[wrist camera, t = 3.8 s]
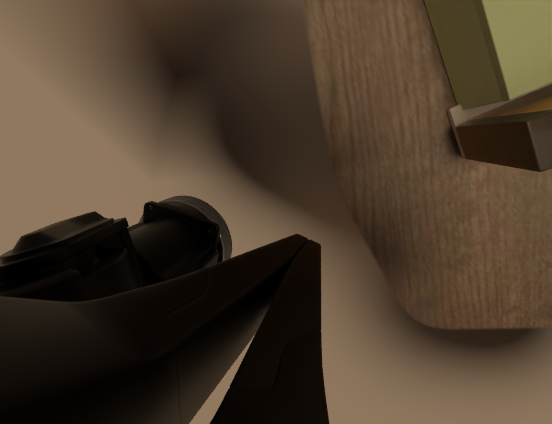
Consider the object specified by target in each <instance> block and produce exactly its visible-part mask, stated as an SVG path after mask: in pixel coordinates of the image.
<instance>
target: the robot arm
mask: <svg viewBox="0 0 552 424" xmlns="http://www.w3.org/2000/svg"><path fill="white" fill-rule="evenodd" d="M150 206H151V207H152V209H151V208H150ZM128 226H129V225H128V222H127V220H126V218H121V219H116V220H114V219H113V218H110V219H107V218H104V217H103V216H101V215H100V214H98V213H97V212H91V213H86V214H83V215H80V216H76V217H73V218H70V219H67V220H64V221H60V222H57V223H54V224H52V225H49V226H47V227H44V228H42V229H39V230H36V231H34V232H31V233H29V234H26V235H24V236H21V238H20V239H19V241H18V242H17V244H16V245H15V247H14V248H13V249H12V250H10V251H8V252H6V253H5V254H3V255H1V256H0V424H189V423H190V422H191V420H192V419H193V417H194V416H195V415H196V413H197V412H198V410H199V409H200V408H201V406H202V405H203V404H204V403H205V401H206V400H207V398H208V397H209V396H210V394H211V393H212V392H213V390H214V389H215V388H216V386H217V385H218V384H219V382H220V381H221V379H222V378H223V377H224V375H225V374H226V373H227V371H228V370H229V369H230V367H231V366H232V365H233V363H234V362H235V360H236V359H237V358H238V356H239V355H240V354H241V352H242V351H243V350H244V348H245V347H246V346H247V344H248V343H249V341H250V340H251V339H252V337H253V336H254V335H255V336H254V338H253V340H252V343H251V344H250V346H249V348H248V350H247V352H246V354H245V356H244V359H243V361H242V363H241V365H240V367H239V369H238V371H237V373H236V375H235V377H234V379H233V381H232V383H231V385H230V388H229V389H228V391H227V393H226V395H225V397H224V399H223V401H222V403H221V405H220V407H219V408H218V410H217V412H216V414H215V416H214V418H213V419H212V421H211V422H210V424H329V419H328V411H327V404H326V396H325V388H324V379H323V369H322V348H321V245H320V244H319V243H317V242H314V241H312V240H308V239H307V238H306V237H304V236H301V235H299V234H295V235H292V236H289V237H287V238H284V239H281V240H279V241H276V242H273V243H270V244H268V245H265V246H262V247H260V248H257V249H254V250H252V251H249V252H246V253H244V254H241V255H238V256H236V257H233V258H230V259H227V260H225V261H222V262H219V263H217V260H218V255H219V252H218V250H217V244H218V239H219V234H220V226H219V225H218V224H217V223H216V222H213V221H210V220H207V219H204V218H201V217H198V216H195V215H192V214H189V213H186V212H183V211H180V210H177V209H174V208H171V207H168V206H165V205H162V204H159V203H156V202H153V201H150V202H147V203H145V205H144V212H143V221H142V222H140V223H138V224H136V225H133V226H131V227H128ZM127 227H128V228H127ZM211 227H214V228H215V231H213V230H212V228H211ZM255 333H256V334H255Z"/></svg>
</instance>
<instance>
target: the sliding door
mask: <svg viewBox="0 0 552 424" xmlns="http://www.w3.org/2000/svg"><path fill="white" fill-rule="evenodd" d="M456 130H457V133H458V137H459V140H460V143H461V146H462V149H463V152H464V155H465V158H466V159H469V160H475V161H480V162H486V163H492V164H497V165H503V166H509V167H514V168H520V169H526V170H532V171H537V172H542V171H545V170H548V169H551V168H552V84H551V85H548V86H546V87H544V88H541V89H539V90H537V91H534V92H532V93H529V94H527V95H525V96H522V97H520V98H518V99H515V100H513V101H510V102H508V103H506V104H503V105H501V106H499V107H496V108H494V109H491V110H489V111H487V112H484V113H482V114H479V115H477V116H475V117H472V118H470V119H468V120H467V122H466V123H464V124H461V125H459V126H457V127H456Z"/></svg>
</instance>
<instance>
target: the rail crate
mask: <svg viewBox="0 0 552 424" xmlns="http://www.w3.org/2000/svg"><path fill="white" fill-rule="evenodd" d="M424 2H425V5H426V8H427V12H428V15H429V18H430V21H431V24H432V27H433V30H434V33H435V37H436V40H437V43H438V46H439V49H440V52H441V55H442V59H443V62H444V65H445V68H446V71H447V74H448V77H449V80H450V84H451V87H452V90H453V93H454V96H455V99H456V102H457V105H456V106H453V107H451V108H449V109H447V113H448V116H449V119H450V122H451V125H452V128H453V131H454V134H455V137H456V140H457V143H458V147H459V150H460V153H461V156H462V157H463V158H465V155H464V152H463V149H462V146H461V143H460V140H459V137H458V133H457V130H456V127H457V126H459V125H461V124H464V123H466V122H467V120H468V119H470V118H472V117H475V116H477V115H479V114H482V113H484V112H487V111H489V110H491V109H494V108H496V107H499V106H501V105H503V104H506V103H508V102H510V101H513V100H515V99H518V98H520V97H522V96H525V95H527V94H529V93H532V92H534V91H537V90H539V89H541V88H544V87H546V86H548V85H551V84H552V0H424Z"/></svg>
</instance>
